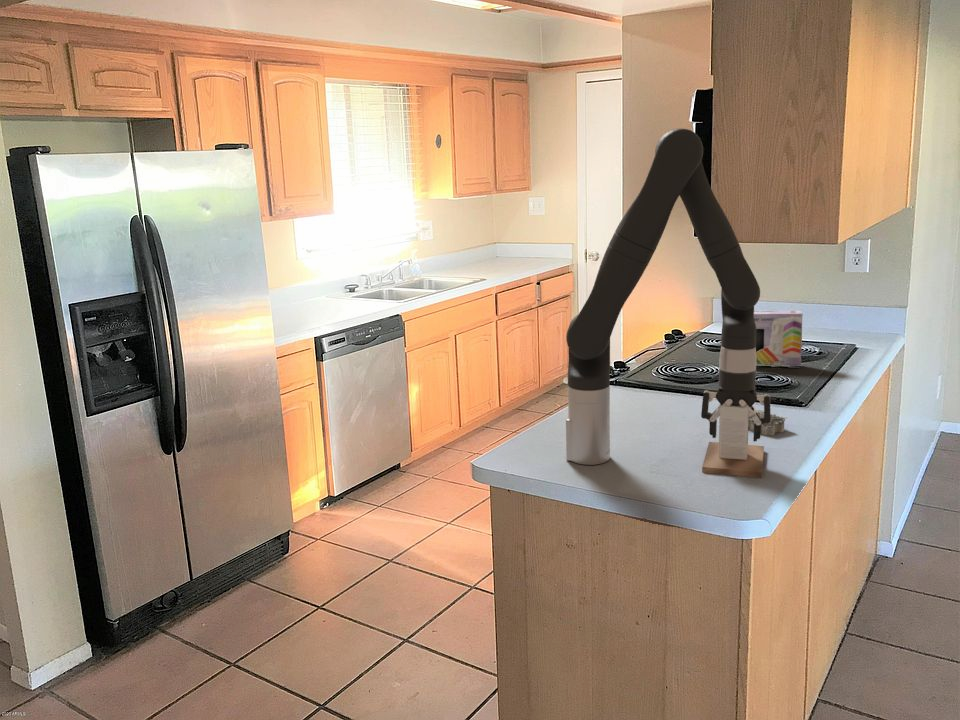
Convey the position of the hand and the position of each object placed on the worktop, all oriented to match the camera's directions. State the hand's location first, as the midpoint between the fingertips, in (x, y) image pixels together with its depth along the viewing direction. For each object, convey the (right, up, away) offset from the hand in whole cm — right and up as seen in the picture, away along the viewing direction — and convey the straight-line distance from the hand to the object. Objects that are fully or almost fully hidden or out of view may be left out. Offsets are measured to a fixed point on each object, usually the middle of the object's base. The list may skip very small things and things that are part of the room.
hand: (734, 438), depth 174 cm
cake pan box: (+35, +15, +76) cm, 85 cm away
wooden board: (0, -5, +1) cm, 5 cm away
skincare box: (0, -4, +1) cm, 4 cm away
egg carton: (+13, 0, +22) cm, 25 cm away
